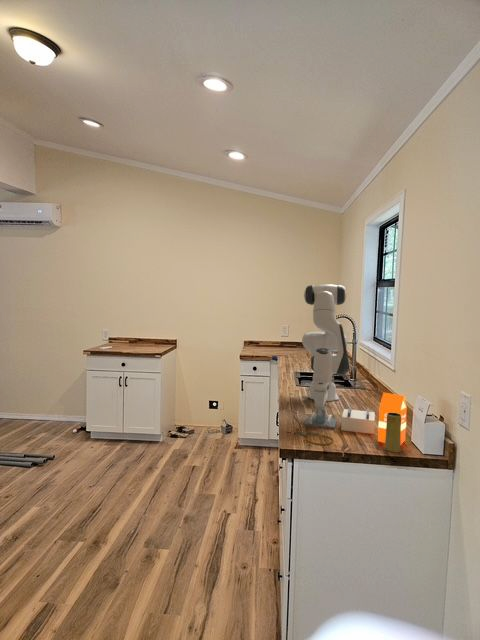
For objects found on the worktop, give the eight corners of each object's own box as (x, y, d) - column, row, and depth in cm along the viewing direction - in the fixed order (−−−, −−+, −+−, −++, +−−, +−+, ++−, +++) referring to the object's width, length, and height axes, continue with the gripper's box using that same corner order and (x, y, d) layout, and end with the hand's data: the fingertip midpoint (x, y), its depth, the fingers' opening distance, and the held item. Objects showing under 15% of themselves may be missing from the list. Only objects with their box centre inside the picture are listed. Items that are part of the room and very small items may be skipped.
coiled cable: (325, 433, 184) (325, 429, 184) (337, 446, 168) (337, 441, 168) (298, 433, 183) (298, 429, 183) (307, 446, 167) (308, 442, 167)
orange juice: (384, 436, 180) (386, 390, 179) (405, 441, 174) (407, 394, 173) (377, 441, 174) (379, 393, 173) (399, 446, 168) (401, 397, 167)
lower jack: (308, 417, 206) (308, 411, 206) (337, 420, 202) (337, 414, 201) (303, 425, 193) (303, 419, 192) (334, 429, 188) (334, 422, 188)
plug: (317, 419, 200) (317, 406, 199) (325, 420, 198) (326, 407, 198) (316, 421, 196) (316, 409, 195) (324, 422, 195) (325, 409, 194)
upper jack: (343, 421, 201) (344, 404, 200) (374, 424, 196) (374, 408, 196) (341, 430, 187) (341, 412, 187) (374, 434, 183) (374, 416, 183)
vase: (400, 453, 161) (402, 417, 160) (383, 451, 163) (385, 415, 162) (400, 448, 166) (402, 413, 166) (384, 445, 169) (386, 411, 168)
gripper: (318, 378, 207) (317, 406, 208) (312, 387, 187) (311, 417, 188) (331, 379, 205) (330, 407, 206) (326, 388, 185) (325, 419, 186)
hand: (321, 412), depth 197 cm, fingers open, 8 cm apart
